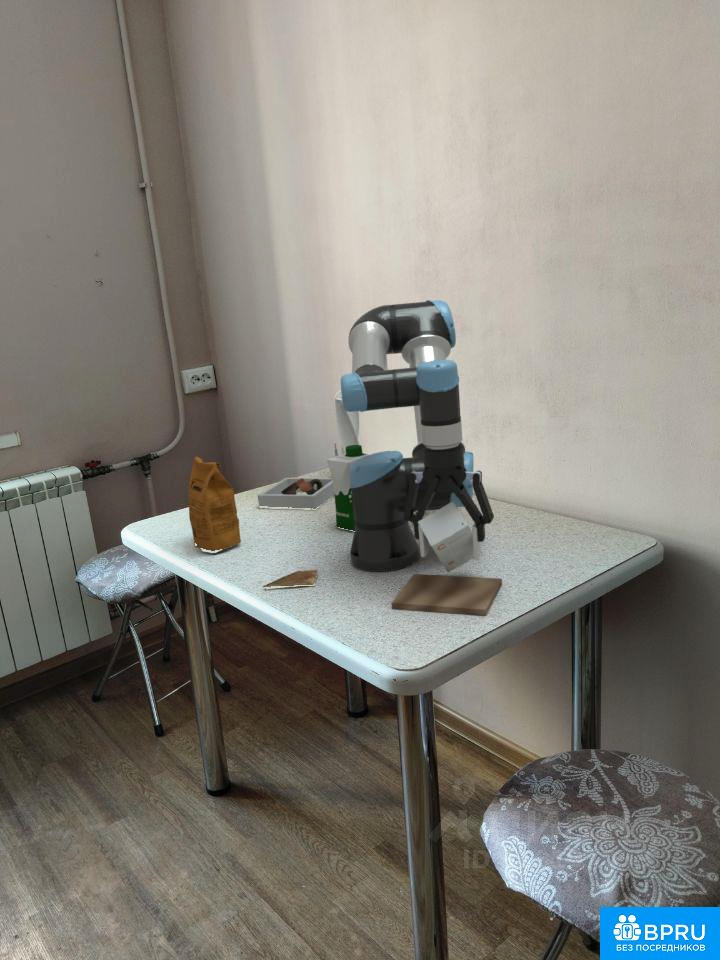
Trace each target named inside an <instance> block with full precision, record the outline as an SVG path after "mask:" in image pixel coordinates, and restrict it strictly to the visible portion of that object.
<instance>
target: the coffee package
mask: <svg viewBox="0 0 720 960" xmlns="http://www.w3.org/2000/svg"><path fill="white" fill-rule="evenodd" d="M203 461H204V460H203V459H202V458H200V457H198V456H195V457H194V458H193V465H192V468H191V473H190V478H189V483H188V484H189V485H188V489H187V491H188V493H187V494H188V516H189V517H188V518H189V522H190V526H191V527H190V528H191V531H192V537H193V542H194V543H196V544H197V546H198V547H197V548H199V547H200V548H203V549H206V550H211V551H215V550H220V549H224V548H226V549H228V548H227V547H229V548H231V547H230V546H233V547H235V546H234V545H236V544H238V543H239V544H241V543H242V540H241V535H240V534H241V531H240V519H239V518H238V514H237V513H238V511H237V509H238V508H237V505H236V500H235V499H236V498H235V492H234V491H235V490H234V488H233V487H232V485H231V484H230V482H229V481H228V480H227V479H226V478H225V477H224V475H222V473H221V472H220V470H219V469H220V468H221V467H222V466H221V463H220V462H213V461H212V462H203ZM240 542H241V543H240ZM194 543H193V544H194ZM239 544H238V545H239ZM236 546H237V545H236ZM200 548H199V549H200ZM224 550H225V549H224Z"/></svg>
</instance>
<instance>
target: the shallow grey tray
mask: <svg viewBox="0 0 720 960" xmlns="http://www.w3.org/2000/svg"><path fill="white" fill-rule="evenodd" d="M301 478H303V479H304V481H306V482H310V481H311V480H313V479H319V480H320V481H321V482H322V485H323V487H322V488H321V489H319V490H318V491H317V492H315V493H314V494H312V495H307V494H296V495H287V494H282V493H281V492H282V491H283V490H284V489H285V488H287V487H288V486H290V485H291V484H293V483H295V482H296V481H298V480H299V479H301ZM314 489H315V490H317V484H314ZM296 491H301V490H300V488H298V489H297V490H296ZM332 496H334V489H333V480H332V477H284V478H283V479H282V480H280V481H278V482H276V483H275V484H274V485H272V486H270V487H268V488H267V489H265V490H264V491H262V492H260V493H259V494H257V501H258V507H259V506H268V507H288V508H289V507H292V508H311V509H312V508H313V509H316V508H317V507H318V506H320V505H321V504H323V503H324V502H325V501H327V500H328V499H330V498H331V497H332ZM331 499H332V498H331ZM331 499H330V500H331ZM327 502H328V501H327ZM323 505H324V504H323Z"/></svg>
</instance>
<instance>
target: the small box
mask: <svg viewBox="0 0 720 960" xmlns="http://www.w3.org/2000/svg"><path fill="white" fill-rule="evenodd" d="M418 524H419V526H420V528H421V529H422V531H423V533H424V535H425V537H426V538H427V540H428V545H429V546H430V547H431V549H432V550H433V552H434V553H435V555H436V557H437V558H438V559H439V561H440V563H441V564H442V565H443V568H444V570H446V572H447V573H450V572H452V571H454V570H455V569H457V568H458V567H460V566H462V565H464V564H466V563H467V562H469V561H471V560H474V549H473V534H472V528H471V527H470V525H469V524H468V521H467V520H466V519H465V517H464V516H463V514H462V512H461V511H460V510H459V507H457V506H456V505H455V503H454V502H453V501H452V502H451V503H449V504H447V505H445V506H444V507H442V508H440V509H438V510H434V512H432V513H430V514H428V515H426V516H425V517H423V519H421V520H420V521H418ZM481 554H483V551H482V550H481Z"/></svg>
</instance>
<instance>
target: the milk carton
mask: <svg viewBox="0 0 720 960" xmlns="http://www.w3.org/2000/svg"><path fill="white" fill-rule="evenodd" d="M368 455H369V454H368V453H364V452H363V445H360V444H359V445H351V446H347V447H346V453H344V454H342V453H341V454H338V456H333V457H330V458H327V459H326V461H327V464H328V468H329V470H330V474H331V478H332V480H333V489H334V497H333V498H334V504H335V525H336V526H337V527H340V528H344V529H348V530H353V531H355V520H354V511H353V501H352V491H351V487H350V467H351V465H352V464H353V463H354V462H355V461H357V460H358V459H360V458H362V457H365V456H368ZM336 526H335V527H336Z"/></svg>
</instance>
